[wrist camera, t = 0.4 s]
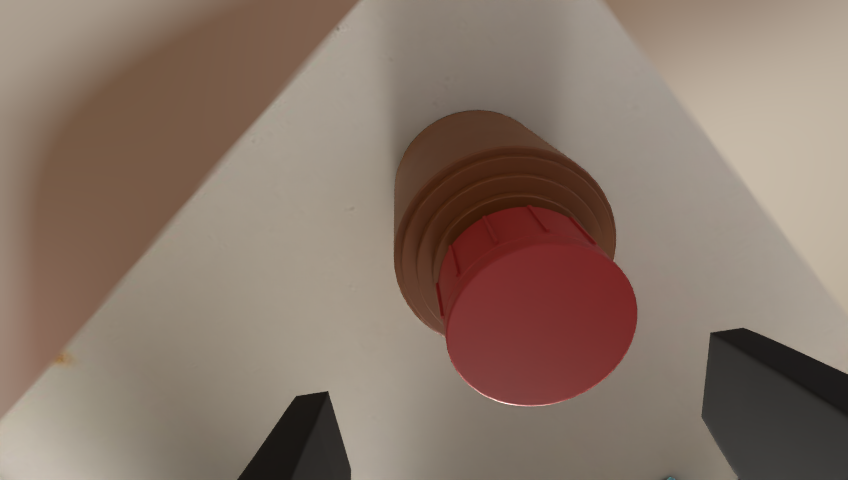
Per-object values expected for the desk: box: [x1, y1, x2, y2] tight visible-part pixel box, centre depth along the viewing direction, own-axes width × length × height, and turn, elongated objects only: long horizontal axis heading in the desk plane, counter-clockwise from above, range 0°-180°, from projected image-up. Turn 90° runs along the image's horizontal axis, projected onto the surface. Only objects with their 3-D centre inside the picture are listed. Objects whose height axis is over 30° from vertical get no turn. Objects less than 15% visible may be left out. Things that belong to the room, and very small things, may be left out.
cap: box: [436, 205, 637, 406], centre depth 11 cm, size 4×4×2 cm
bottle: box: [394, 110, 616, 337], centre depth 14 cm, size 6×6×9 cm
